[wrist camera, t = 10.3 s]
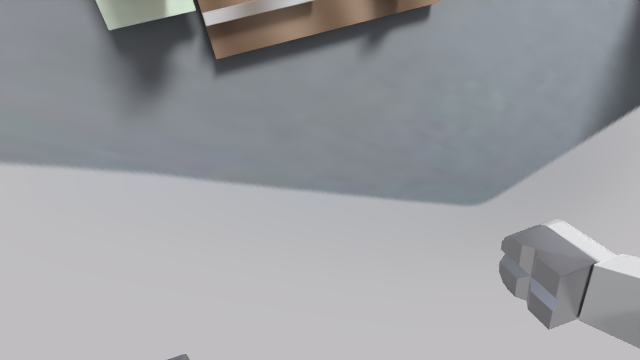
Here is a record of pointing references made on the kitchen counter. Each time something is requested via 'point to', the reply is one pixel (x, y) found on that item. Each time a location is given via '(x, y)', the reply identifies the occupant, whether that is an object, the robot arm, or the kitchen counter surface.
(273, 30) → the ticket board
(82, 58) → the kitchen counter surface
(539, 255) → the robot arm
